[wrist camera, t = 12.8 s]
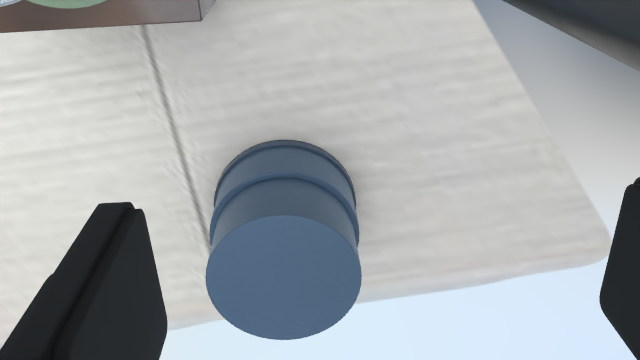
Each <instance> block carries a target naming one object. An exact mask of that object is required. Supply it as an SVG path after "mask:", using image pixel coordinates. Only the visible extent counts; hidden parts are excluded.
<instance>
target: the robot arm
mask: <svg viewBox="0 0 640 360" xmlns="http://www.w3.org/2000/svg"><path fill="white" fill-rule="evenodd" d="M600 305H601V309H602V311H603V313H604V314H605V316H606V317H607V318H608V320H609V321H610V323H611V324H612V326H613V327H614V328H615V330H616V331H617V332H618V334H619V335H620V337H621V338H622V339H623V341H624V342H625V344H626V345H627V346H628V348H629V349H630V350H631V352H632V353H633V355H634V356H635V357H636V358H637V360H640V177H639V178H637V179H636V181H635V182H634V184H631V185H629V186H628V187H627V188H626V190H625V193H624V197H623V201H622V205H621V210H620V214H619V218H618V221H617V226H616V230H615V234H614V238H613V242H612V246H611V250H610V254H609V259H608V263H607V266H606V271H605V275H604V279H603V283H602V287H601V291H600ZM166 334H167V315H166V311H165V306H164V302H163V297H162V292H161V288H160V283H159V279H158V274H157V269H156V265H155V260H154V255H153V251H152V246H151V242H150V237H149V232H148V228H147V223H146V219H145V215H144V212H143V210H142V209H135V208H134V206H133V204H132V203H131V202H120V203H101V204H99V205H98V206H97V207H96V209H95V210H94V212H93V213H92V215H91V216H90V218H89V219H88V221H87V222H86V224H85V226H84V227H83V229H82V230H81V232H80V233H79V235H78V236H77V238H76V239H75V241H74V243H73V244H72V246H71V247H70V249H69V250H68V252H67V253H66V255H65V256H64V258H63V259H62V261H61V263H60V264H59V266H58V267H57V269H56V270H55V272H54V273H53V274H51V275H50V276H49V277H48V279H47V280H46V281H45V283H44V284H43V286H42V287H41V289H40V290H39V292H38V293H37V295H36V296H35V298H34V299H33V301H32V302H31V304H30V305H29V307H28V308H27V310H26V312H25V313H24V315H23V316H22V318H21V319H20V321H19V322H18V324H17V325H16V327H15V328H14V330H13V331H12V333H11V334H10V336H9V337H8V339H7V341H6V342H5V344H4V345H3V347H2V348H1V350H0V360H159V358H160V355H161V351H162V348H163V344H164V341H165V338H166Z"/></svg>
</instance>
